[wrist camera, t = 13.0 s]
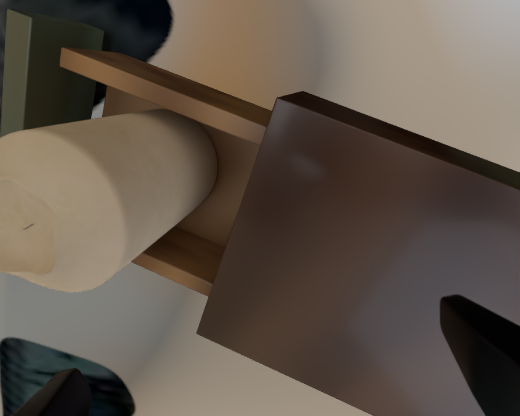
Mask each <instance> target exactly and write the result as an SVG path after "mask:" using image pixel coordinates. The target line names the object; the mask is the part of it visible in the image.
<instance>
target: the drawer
mask: <svg viewBox="0 0 520 416" xmlns="http://www.w3.org/2000/svg"><path fill="white" fill-rule="evenodd" d="M103 36H104V31H103V30H101V29H98V28H96V27H93V26H90V25H88V24H85V23H80V22H75V21H70V20H65V19H59V18H54V17H49V16H44V15H39V14H34V13H29V12H24V11H19V10H14V9H7V22H6V41H5V59H4V78H3V97H2V115H1V134H0V138H1V137H3V136H5V135H7V134H10V133H13V132H17V131H21V130H27V129H34V128H40V127H46V126H52V125H58V124H65V123H71V122H77V121H83V120H90V119H91V116H92V109H93V103H94V96H95V89H96V83H97V81H98V82H100V83H103V84H105V85H107V90H106V97H105V103H104V109H103V115H102V117H108V116H115V115H121V114H127V113H133V112H140V111H146V110H155V109H168V110H171V111H173V112H176V113H178V114H181V115H184V116H186V117H189V118H191V119H193V120H195V121H196V122H197V123H198V124H199V125H200V126H201V127H202V128H203V129H204V130H205V132H206V133H207V135H208V136H209V138H210V140H211V141H212V144H213V146H214V149H215V152H216V156H217V165H218V170H217V177H216V181H215V184H214V186H213V189H212V190H211V192H210V194H209V195H208V197H207V198H206V199H205V200H204V201H203V202H202V203H201V204H200V205H199V206H198V207H197V208H196V209H194V210H193V211H192V212H191V213H190V214H188V215H187V216H186V217H185V218H183V219H182V220H181V221H180V222H179V223H177V224H176V225H175V226H174V227H172V228H171V229H170V230H169V231H168V232H166V233H165V234H164V235H163V236H161V237H160V238H159V239H158V240H157V241H155V242H154V243H153V244H152V245H150V246H149V247H148V248H147V249H146V250H144V251H143V252H142V253H141V254H139V255H138V256H137V257H136V258H135V259H133V260H132V261H131V262H133V263H135V264H137V265H139V266H142V267H144V268H146V269H148V270H150V271H153V272H155V273H157V274H159V275H161V276H164V277H166V278H168V279H171V280H173V281H175V282H177V283H179V284H182V285H184V286H186V287H188V288H190V289H193V290H195V291H197V292H199V293H201V294H204V295H206V296H208V297H209V294H210V292H211V289H212V286H213V283H214V280H215V277H216V274H217V271H218V268H219V265H220V262H221V259H222V256H223V253H224V250H225V248H226V245H227V242H228V239H229V236H230V233H231V230H232V227H233V224H234V221H235V218H236V215H237V212H238V209H239V206H240V204H241V201H242V198H243V195H244V192H245V189H246V186H247V183H248V180H249V177H250V174H251V171H252V168H253V165H254V162H255V160H256V157H257V154H258V151H259V148H260V145H261V142H262V139H263V136H264V133H265V130H266V127H267V124H268V121H269V118H270V115H271V113H272V111H270V110H268V109H265V108H262V107H260V106H257V105H255V104H252V103H249V102H247V101H244V100H242V99H239V98H237V97H234V96H231V95H229V94H226V93H223V92H221V91H218V90H216V89H213V88H211V87H208V86H205V85H203V84H200V83H198V82H195V81H192V80H190V79H187V78H185V77H182V76H179V75H177V74H174V73H171V72H169V71H166V70H164V69H161V68H158V67H156V66H154V65H151V64H148V63H146V62H143V61H141V60H138V59H135V58H133V57H130V56H128V55H125V54H122V53H113V52H106V51H101V49H102V43H103Z"/></svg>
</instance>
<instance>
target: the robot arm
mask: <svg viewBox="0 0 520 416" xmlns="http://www.w3.org/2000/svg"><path fill="white" fill-rule="evenodd" d="M440 326H441V330H442V333H443V335H444V337H445V339H446V341H447V343H448V345H449V347H450V349H451V351H452V353H453V356H454V358H455V360H456V362H457V364H458V366H459V368H460V370H461V372H462V374H463V376H464V378H465V380H466V382H467V384H468V386H469V388H470V390H471V392H472V394H473V396H474V398H475V399H476V401H477V403H478V404H479V406H480V408H481V409H482V411H483V413H484V414H485V416H520V326H519V325H517V324H515V323H513V322H512V321H510V320H508V319H506V318H504V317H502V316H500V315H498V314H496V313H494V312H492V311H491V310H489V309H487V308H485V307H483V306H481V305H479V304H477V303H475V302H473V301H471V300H470V299H468V298H466V297H464V296H462V295H459V294H454V295H449V296H444V297H442V298H441V299H440ZM91 401H92V392H91V389H90V387H89V385H88V384H87V382H86V380H85V379H84V377H83V375H82V374H81V372H80V371H79V370H78V369H76V368H72V369H67V370H62V371H60V372H58V373H57V374H56V375H55V376H54V377H53V378H51V379H50V380H49V381H48V382H47V383H46V384H45V385H44V386H43V387H42V388H41V389H39V390H38V391H37V392H36V393H35V394H34V395H33V396H32V397H31V398H30V399H29V400H27V401H26V402H25V403H24V404H23V405H22V406H21V407H20V408H19V409H18V410H17V411H16V412H14V413H13V414H12V415H11V416H89V411H90V406H91Z"/></svg>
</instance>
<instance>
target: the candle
mask: <svg viewBox="0 0 520 416" xmlns="http://www.w3.org/2000/svg"><path fill="white" fill-rule="evenodd" d="M217 170H218V165H217V156H216V152H215V149H214V146H213V144H212V141H211V140H210V138H209V136H208V135H207V133H206V132H205V130H204V129H203V128H202V127H201V126H200V125H199V124H198V123H197V122H196V121H195V120H193V119H191V118H189V117H186V116H184V115H181V114H178V113H176V112H173V111H171V110H168V109H155V110H146V111H140V112H133V113H127V114H121V115H115V116H108V117H102V118H96V119H90V120H83V121H77V122H71V123H65V124H58V125H52V126H46V127H40V128H34V129H27V130H21V131H17V132H13V133H10V134H7V135H5V136H3V137H1V138H0V272H4V273H9V274H13V275H16V276H18V277H21V278H23V279H25V280H28V281H30V282H33V283H35V284H38V285H40V286H43V287H46V288H50V289H53V290H57V291H63V292H74V293H75V292H84V291H88V290H92V289H94V288H97V287H99V286H100V285H102V284H103V283H105V282H106V281H107V280H109V279H110V278H111V277H113V276H114V275H115V274H116V273H117V272H119V271H120V270H121V269H122V268H123V267H125V266H126V265H127V264H128V263H130V262H131V261H132V260H133V259H135V258H136V257H137V256H138V255H139V254H141V253H142V252H143V251H144V250H146V249H147V248H148V247H149V246H150V245H152V244H153V243H154V242H155V241H157V240H158V239H159V238H160V237H161V236H163V235H164V234H165V233H166V232H168V231H169V230H170V229H171V228H172V227H174V226H175V225H176V224H177V223H179V222H180V221H181V220H182V219H183V218H185V217H186V216H187V215H188V214H190V213H191V212H192V211H193V210H194V209H196V208H197V207H198V206H199V205H200V204H201V203H202V202H203V201H204V200H205V199H206V198H207V197H208V195H209V194H210V192H211V190H212V189H213V186H214V184H215V181H216V177H217Z"/></svg>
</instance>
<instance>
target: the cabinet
mask: <svg viewBox="0 0 520 416" xmlns="http://www.w3.org/2000/svg"><path fill="white" fill-rule="evenodd" d="M454 294H459V295H462V296H464V297H466V298H468V299H470V300H471V301H473V302H475V303H477V304H479V305H481V306H483V307H485V308H487V309H489V310H491V311H492V312H494V313H496V314H498V315H500V316H502V317H504V318H506V319H508V320H510V321H512V322H513V323H515V324H517V325H519V326H520V172H517V171H514V170H512V169H509V168H506V167H504V166H501V165H498V164H496V163H493V162H490V161H488V160H485V159H482V158H480V157H477V156H474V155H471V154H469V153H466V152H464V151H461V150H458V149H456V148H453V147H450V146H448V145H445V144H443V143H440V142H437V141H435V140H432V139H429V138H426V137H424V136H421V135H419V134H416V133H413V132H411V131H408V130H405V129H403V128H400V127H397V126H394V125H392V124H389V123H387V122H384V121H381V120H379V119H376V118H373V117H371V116H368V115H365V114H363V113H360V112H357V111H355V110H352V109H349V108H347V107H344V106H341V105H338V104H336V103H333V102H331V101H328V100H325V99H323V98H320V97H317V96H315V95H312V94H309V93H307V92H304V91H301V92H297V93H294V94H290V95H285V96H282V97H277V98H276V101H275V104H274V107H273V110H272V113H271V115H270V118H269V121H268V124H267V127H266V130H265V133H264V136H263V139H262V142H261V145H260V148H259V151H258V154H257V157H256V160H255V162H254V165H253V168H252V171H251V174H250V177H249V180H248V183H247V186H246V189H245V192H244V195H243V198H242V201H241V204H240V206H239V209H238V212H237V215H236V218H235V221H234V224H233V227H232V230H231V233H230V236H229V239H228V242H227V245H226V248H225V250H224V253H223V256H222V259H221V262H220V265H219V268H218V271H217V274H216V277H215V280H214V283H213V286H212V289H211V292H210V294H209V297H208V300H207V303H206V306H205V309H204V312H203V315H202V318H201V321H200V324H199V327H198V330H197V334H198V335H200V336H203V337H205V338H207V339H209V340H211V341H213V342H215V343H218V344H220V345H222V346H224V347H227V348H228V349H231V350H233V351H235V352H237V353H239V354H241V355H244V356H246V357H248V358H250V359H252V360H254V361H256V362H259V363H261V364H263V365H265V366H267V367H269V368H272V369H274V370H276V371H278V372H280V373H282V374H285V375H287V376H289V377H291V378H293V379H295V380H298V381H300V382H302V383H304V384H306V385H308V386H311V387H313V388H315V389H317V390H319V391H321V392H323V393H326V394H328V395H330V396H332V397H334V398H336V399H338V400H341V401H343V402H345V403H347V404H349V405H351V406H354V407H356V408H358V409H360V410H362V411H365V412H367V413H369V414H371V415H373V416H485V414H484V413H483V411H482V409H481V408H480V406H479V404H478V403H477V401H476V399H475V398H474V396H473V394H472V392H471V390H470V388H469V386H468V384H467V382H466V380H465V378H464V376H463V374H462V372H461V370H460V368H459V366H458V364H457V362H456V360H455V358H454V356H453V353H452V351H451V349H450V347H449V345H448V343H447V341H446V339H445V337H444V335H443V333H442V330H441V326H440V299H441V298H442V297H444V296H449V295H454Z"/></svg>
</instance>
